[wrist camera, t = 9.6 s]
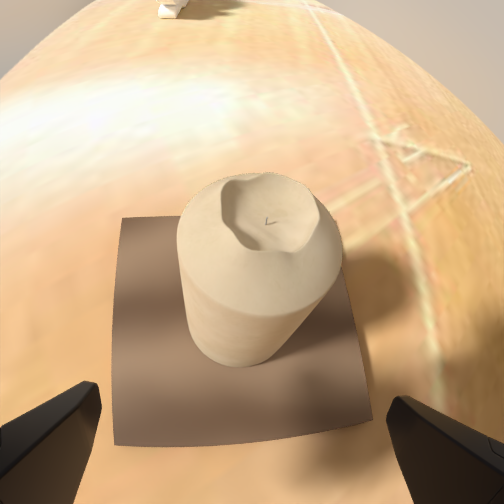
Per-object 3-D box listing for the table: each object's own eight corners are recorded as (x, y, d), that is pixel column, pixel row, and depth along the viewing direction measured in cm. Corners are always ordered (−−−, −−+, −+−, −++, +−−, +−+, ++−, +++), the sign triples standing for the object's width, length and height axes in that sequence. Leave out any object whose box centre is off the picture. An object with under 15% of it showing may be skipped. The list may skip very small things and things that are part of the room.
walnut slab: (365, 420, 17) (372, 420, 16) (119, 444, 14) (114, 445, 13) (322, 222, 23) (327, 214, 23) (125, 226, 21) (122, 217, 20)
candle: (252, 388, 16) (307, 338, 7) (167, 329, 17) (132, 220, 8) (303, 309, 19) (382, 200, 10) (225, 259, 20) (245, 123, 11)
